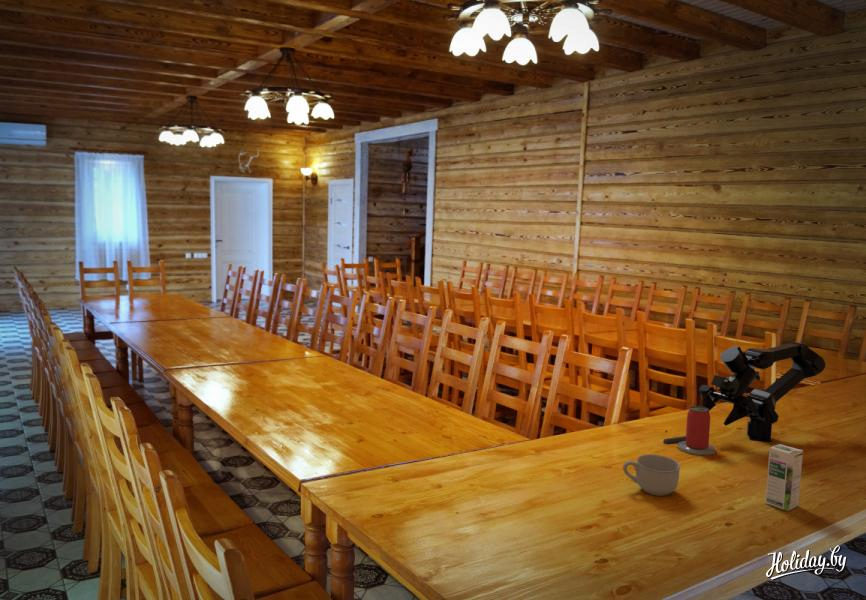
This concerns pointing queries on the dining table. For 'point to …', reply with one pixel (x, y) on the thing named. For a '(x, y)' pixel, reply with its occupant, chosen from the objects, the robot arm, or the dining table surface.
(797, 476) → the syrup box
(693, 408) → the beer can
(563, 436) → the dining table surface
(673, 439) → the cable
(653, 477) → the teacup
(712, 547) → the dining table surface
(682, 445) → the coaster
